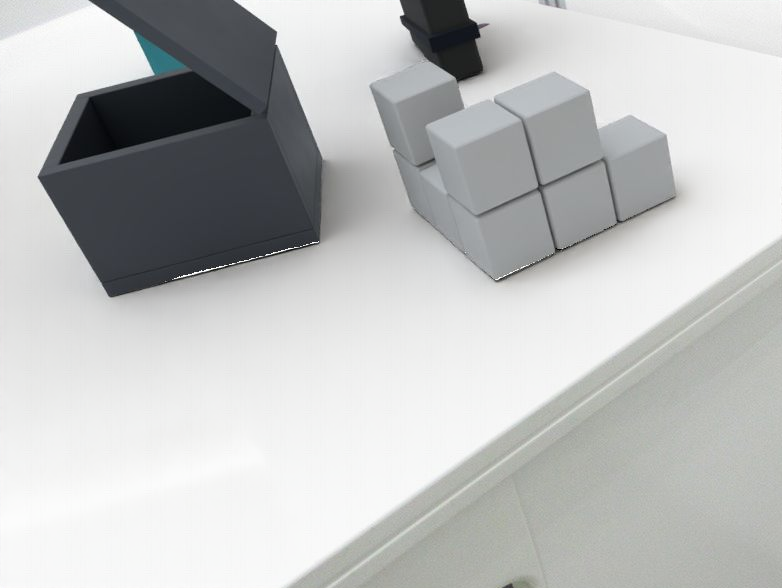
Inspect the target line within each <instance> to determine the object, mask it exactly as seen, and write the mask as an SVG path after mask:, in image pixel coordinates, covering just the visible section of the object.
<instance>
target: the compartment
mask: <svg viewBox="0 0 782 588" xmlns="http://www.w3.org/2000/svg"><path fill="white" fill-rule="evenodd" d="M37 179H38V181H39V183H40V184H41V186H42V188H43V189H44V191H45V192H46V194H47V196H48V197H49V199H50V201H51V203H52V205H53V206H54V207H55V209H56V211H57V212H58V214H59V216H60V217H61V219H62V221H63V222H64V224H65V226H66V227H67V229H68V231H69V232H70V234H71V236H72V238H73V239H74V240H75V242H76V244H77V246H78V248H79V249H80V251H81V252H82V254H83V256H84V257H85V259H86V261H87V262H88V264H89V266H90V267H91V269H92V271H93V272H94V274H95V276H96V277H97V279H98V281H99V282H100V283H101V286H102V287H103V289H104V291H105V293H106V294H107V296H108V297H109V298H112V297H115V296H119V295H123V294H127V293H130V292H135V291H138V290H142V289H147V288H151V287H154V286H157V285H156V284H158V285H161V284H160V283H162V284H164V283H163V282H165V281H170V280H172V279H174V278H177V277H179V276H180V277H181V276H183V275H188V274H192V273H194V272H199V271H201V270H202V271H204V270H206V269H211V268H216V267H219V266H224V265H229V264H232V263H237V262H239V261H244V260H249V259H251V258H256V257H259V256H265V255H266V254H271V253H273V252H278V251H281V250H285V249H288V248H294V247H300V246H303V245H306V244H310V243H312V242H318V241H319V242H320V239H319V235H321V211H322V188H323V187H322V186H323V156H322V153H321V151H320V149H319V146H318V143H317V141H316V139H315V136H314V133H313V131H312V129H311V126H310V123H309V120H308V119H307V116H306V113H305V111H304V108H303V106H302V103H301V101H300V98H299V96H298V93H297V91H296V88H295V86H294V83H293V81H292V78H291V75H290V73H289V71H288V68H287V66H286V63H285V61H284V58H283V56H282V53H281V51H280V48H279V46H278V44H275V51H274V58H273V65H272V72H271V80H270V87H269V94H268V101H267V106H266V108H265V109H264V110H263V112H262V113H261V115H258V114H256V113H255V112H253V111H252V110H250V109H249V108H247V107H246V106H244V105H243V104H241V103H240V102H238V101H237V100H235V99H234V98H232V97H231V96H229V95H228V94H227V93H225V92H224V91H222V90H221V89H219V88H218V87H216V86H215V85H213V84H212V83H210V82H209V81H207V80H206V79H204V78H203V77H201V76H200V75H198V74H197V73H195V72H194V71H192V70H191V69H189V68H188V67H184V68H180V69H176V70H172V71H169V72H165V73H161V74H157V75H154V74H152V75H148V76H144V77H141V78H137V79H134V80H128V81H125V82H121V83H117V84H113V85H109V86H105V87H102V88H97V89H93V90H89V91H86V92H80V93H78V94H77V95H76V96H75V98H74V101H72V104H71V106H70V109H69V111H68V112H67V115H66V117H65V119H64V121H63V123H62V125H61V127H60V130H59V131H58V133H57V136H56V137H55V139H54V142H53V143H52V146H51V148H50V150H49V152H48V154H47V156H46V158H45V160H44V162H43V165H42V167H41V169H40V171H39V173H38V175H37ZM319 231H320V232H319ZM170 282H171V281H170ZM146 287H147V288H146Z"/></svg>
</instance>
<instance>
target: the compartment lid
mask: <svg viewBox="0 0 782 588" xmlns="http://www.w3.org/2000/svg"><path fill="white" fill-rule="evenodd" d="M88 2H90V3H92V4H93V5H95V6H96V7H97V8H99V9H100V10H102V11H103V12H105V13H106V14H108V15H110V16H111V17H112V18H114V19H116V20H117V21H118V22H119V23H121V24H123V25H124V26H125V27H127V28H128V29H130V30H131V31H132V32H134V31H135V32H136V33H138V34H139V35H140V36H142V37H143V38H145V39H146V40H148V41H149V42H151V43H152V44H154V45H155V46H157V47H158V48H160V49H161V50H163V51H164V52H166V53H167V54H169V55H170V56H172V57H173V58H175V59H176V60H178V61H179V62H181V63H182V64H184V65H185V66H186V67H188V68H189V69H191V70H192V71H194V72H195V73H197V74H198V75H200V76H201V77H203V78H204V79H206V80H207V81H209V82H210V83H212V84H213V85H215V86H216V87H218V88H219V89H221V90H222V91H224V92H225V93H227V94H228V95H229V96H231V97H232V98H234V99H235V100H237V101H238V102H240V103H241V104H243V105H244V106H246V107H247V108H249V109H250V110H252V111H253V112H255V113H256V114H258V115H261V113H262V112H263V110H264V109H265V108H266V106H267V101H268V94H269V87H270V80H271V72H272V65H273V58H274V51H275V45H277V36H278V31H277V30H276V29H274V28H273V27H271V26H270V25H269V24H267V23H266V22H264V21H263V20H262V19H261V18H259V17H258V16H256V14H253V12H251V11H249V10H248V9H247V8H246V7H244V6H242V5H241V4H240V3H239V2H237V1H236V0H88Z"/></svg>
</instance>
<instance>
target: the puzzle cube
mask: <svg viewBox="0 0 782 588" xmlns="http://www.w3.org/2000/svg"><path fill="white" fill-rule="evenodd" d="M369 88H370V91H371V95H372V97H373V101H374V103H375V105H376V108H377V112H378V115H379V117H380V121H381V123H382V125H383V129H384V132H385V134H386V137H387V140H388V143H389V145H390V147H391V148H392V149H393V150H392V154H393V157H394V160H395V163H396V166H397V169H398V171H399V174H400V177H401V180H402V183H403V187H404V188H405V191H406V194H407V197H408V200H409V204H410V206H411V207H412V208H413V210H415V211H416V212H417V213H418V214H419V215H421V216H422V218H424V219H425V220H426V221H427V222H428V221H429V222H428V223H429V224H430V225H432V226H433V227H434V228H435V227H437V228H436V229H437V231H438V232H439V233H440V234H441V235H443V236H444V237H445V238H446V239H447V240H449V242H451V243H452V244H453V246H455V247H456V248H458V250H460V252H462V253H463V254H465V255H466V256H467V258H469V259H470V260H471V261H472V262H473V263H474V262H475V263H476V264H475V263H474V264H475V265H476V266H478V267H479V268H480V267H481V268H482V269H483V270H484V271H485V272H486V273H485V272H484V271H483V270H482V269H481V268H480V269H481V270H482V271H483V272H484V273H485V274H486V275H487V276H489V275H490V276H491V277H492V278H493V279H498V278H499V277H503V276H504V275H507V274H509V273H510V272H513V271H515V270H517V269H520V268H521V267H523V266H526V265H529V264H531V263H533V262H536V261H538V260H540V259H542V258H544V257H546V256H548V255H551V254H552V253H554V254H555V253H556V250H557V249H562V248H565V247H568V246H570V245H572V246H573V244H574V243H576V244H578V243H580V242H582V241H584V240H583V239H585V240H586V238H587V237H589V238H591V237H592V236H591V235H593V236H595V235H597V234H600V233H602V232H604V231H605V230H604V229H606V230H608V229H610V228H612V227H613V226H616V225H617V223H618V221H619V222H621V221H622V222H625V221H626V219H627V220H629V219H631V218H633V217H635V216H637V215H639V214H641V213H643V212H646V211H648V210H650V209H652V208H654V207H656V206H658V205H660V204H663V203H665V202H667V201H668V200H671V199H672V198H675V197H676V196H677V191H676V185H675V177H674V173H673V165H672V160H671V153H670V148H669V147H670V146H669V142H668V136H667V134H666V133H665V132H663V131H661V130H659V129H657V128H656V127H654V126H653V125H650V124H648V123H647V122H645V121H643V120H641V119H639V118H637V117H635V116H634V115H633V114H632V115H631V114H628V115H626V116H623V117H622V118H619V119H617V120H615V121H613V122H611V123H608V124H606V125H604V126H601V127H599V128H598V125H597V119H596V115H595V110H594V106H593V105H594V104H593V101H592V95H591V91H590V90H589V89H588V88H586V87H584V86H582V85H580V84H578V83H577V82H574V81H573V80H571V79H569V78H567V77H566V76H564V75H562V74H560V73H558V72H557V71H552V72H549V73H547V74H544V75H542V76H540V77H538V78H535V79H533V80H530V81H528V82H526V83H523V84H520V85H518V86H516V87H514V88H512V89H509V90H505V91H504V92H501V93H499V94H497V95H495V96H493V100H491V99H488V98H487V99H485V100H483V101H480V102H477V103H475V104H473V105H470V106H468V107H466V108H465V104H464V101H463V98H462V94H461V92H460V91H461V90H460V88H459V84H458V80H456V78H455V77H454V76H452V75H450V74H449V73H447V72H446V71H444V70H443V69H441V68H439V67H438V66H436V65H435V64H433V63H432V62H430V61H429V60H425V61H423V62H421V63H418V64H416V65H413V66H410V67H408V68H406V69H403V70H401V71H398V72H395V73H393V74H391V75H388V76H386V77H383V78H379V79H378V80H376V81H373V82H371V83H370V84H369ZM647 209H648V210H647ZM634 215H635V216H634ZM630 217H631V218H630ZM628 218H629V219H628ZM615 224H616V225H615ZM611 226H612V227H611ZM609 227H610V228H609ZM607 228H608V229H607ZM596 233H597V234H596ZM594 234H595V235H594ZM590 236H591V237H590ZM587 239H588V238H587ZM579 241H580V242H579ZM577 242H578V243H577ZM574 245H575V244H574ZM570 247H571V246H570ZM556 248H557V249H556ZM568 248H569V247H568ZM465 252H466V253H465ZM551 256H552V255H551ZM540 261H541V260H540ZM538 262H539V261H538ZM536 263H537V262H536ZM490 276H489V277H490ZM491 277H490V278H491ZM492 278H491V279H492ZM493 279H492V280H493Z"/></svg>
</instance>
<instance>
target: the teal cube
mask: <svg viewBox="0 0 782 588" xmlns="http://www.w3.org/2000/svg"><path fill="white" fill-rule="evenodd" d="M133 33H134V36H135V37H136V40H137V42H138V44H139V47H140V48H141V50H142V52H143V55H144V57H145V58H146V61H147V62H148V64H149V66H150V69H151V70H152V73H153V75H157V74H161V73H165V72H169V71H172V70H176V69H180V68H184V67H186V66H185V65H184V64H182V63H181V62H179V61H178V60H176V59H175V58H173V57H172V56H170V55H169V54H167V53H166V52H164V51H163V50H161V49H160V48H158V47H157V46H155V45H154V44H152V43H151V42H149V41H148V40H146V39H145V38H143V37H142V36H140V35H139V34H138V33H136V32H135V31H133Z"/></svg>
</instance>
